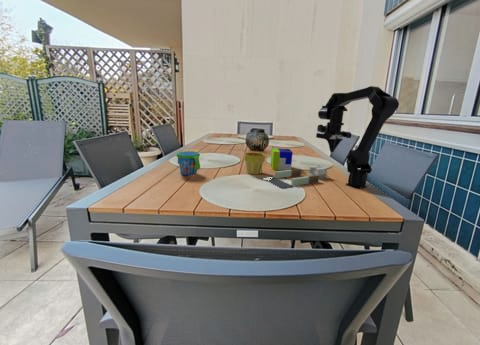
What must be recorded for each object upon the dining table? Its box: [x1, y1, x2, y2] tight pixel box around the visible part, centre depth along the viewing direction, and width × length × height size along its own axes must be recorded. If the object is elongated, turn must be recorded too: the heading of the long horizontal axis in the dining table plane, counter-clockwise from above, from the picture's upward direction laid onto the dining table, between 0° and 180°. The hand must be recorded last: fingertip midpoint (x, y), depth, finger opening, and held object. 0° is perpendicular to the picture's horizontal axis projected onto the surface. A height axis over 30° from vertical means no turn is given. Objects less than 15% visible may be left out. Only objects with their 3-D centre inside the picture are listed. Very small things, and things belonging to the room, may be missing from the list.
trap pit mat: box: [266, 176, 294, 189], centre depth 111 cm, size 16×6×1 cm, turn 28°
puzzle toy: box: [270, 147, 293, 171], centre depth 137 cm, size 10×10×10 cm
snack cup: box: [176, 150, 201, 176], centre depth 118 cm, size 16×10×10 cm
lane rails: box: [274, 168, 320, 186], centre depth 116 cm, size 13×15×3 cm
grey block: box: [308, 165, 328, 180], centre depth 122 cm, size 6×6×5 cm
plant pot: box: [243, 151, 266, 175], centre depth 124 cm, size 10×10×10 cm
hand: (331, 152), depth 123 cm, fingers closed
